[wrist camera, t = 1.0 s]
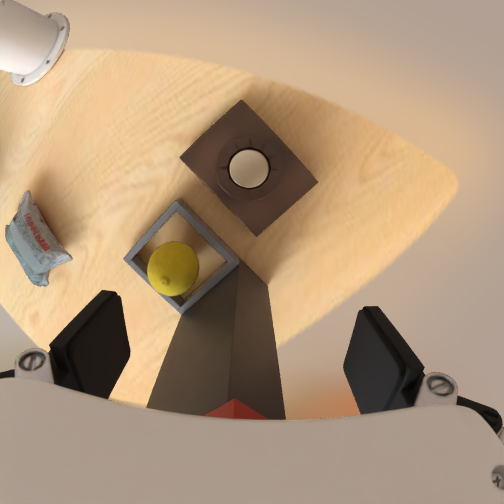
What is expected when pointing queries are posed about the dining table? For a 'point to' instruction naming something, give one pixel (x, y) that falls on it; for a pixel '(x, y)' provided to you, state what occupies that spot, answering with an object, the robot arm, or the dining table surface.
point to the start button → (249, 168)
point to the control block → (239, 139)
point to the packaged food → (34, 242)
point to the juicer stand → (218, 339)
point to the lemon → (173, 268)
